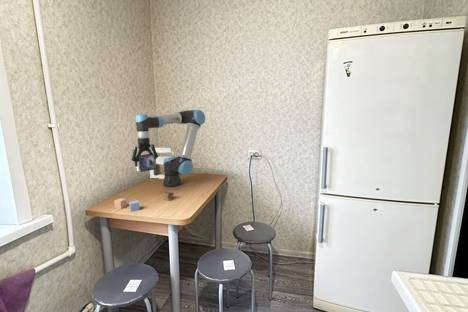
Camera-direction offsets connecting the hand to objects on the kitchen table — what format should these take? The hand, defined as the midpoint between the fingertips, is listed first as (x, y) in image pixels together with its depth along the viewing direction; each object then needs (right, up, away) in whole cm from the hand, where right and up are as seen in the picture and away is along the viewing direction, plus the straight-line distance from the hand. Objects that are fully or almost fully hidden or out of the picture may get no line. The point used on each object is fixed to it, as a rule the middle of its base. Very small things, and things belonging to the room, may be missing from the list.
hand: (146, 169), depth 170 cm
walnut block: (+15, -21, 0) cm, 26 cm away
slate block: (-1, -24, -17) cm, 29 cm away
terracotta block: (-12, -24, -12) cm, 29 cm away
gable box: (-5, -11, +62) cm, 63 cm away
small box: (0, -1, 0) cm, 1 cm away
